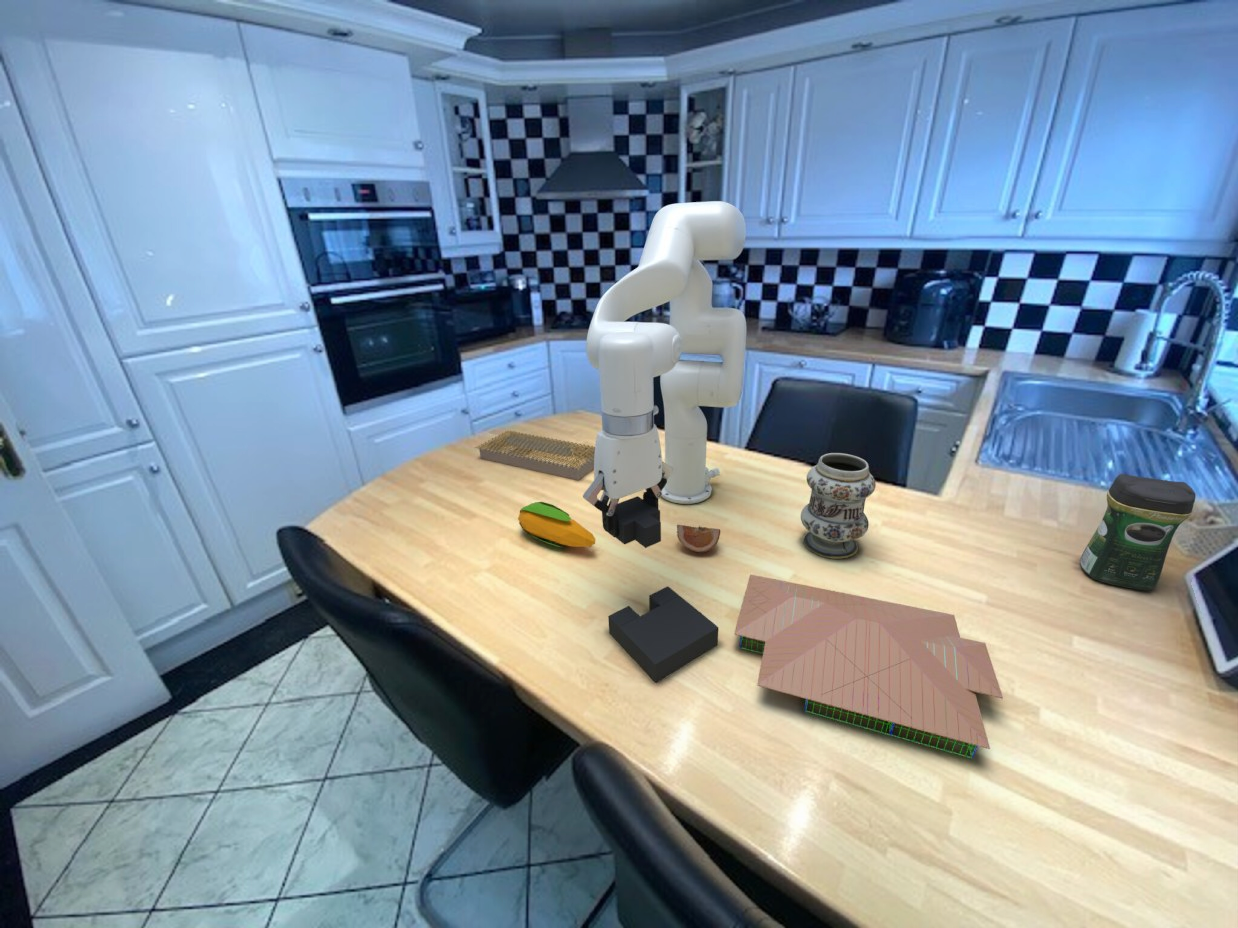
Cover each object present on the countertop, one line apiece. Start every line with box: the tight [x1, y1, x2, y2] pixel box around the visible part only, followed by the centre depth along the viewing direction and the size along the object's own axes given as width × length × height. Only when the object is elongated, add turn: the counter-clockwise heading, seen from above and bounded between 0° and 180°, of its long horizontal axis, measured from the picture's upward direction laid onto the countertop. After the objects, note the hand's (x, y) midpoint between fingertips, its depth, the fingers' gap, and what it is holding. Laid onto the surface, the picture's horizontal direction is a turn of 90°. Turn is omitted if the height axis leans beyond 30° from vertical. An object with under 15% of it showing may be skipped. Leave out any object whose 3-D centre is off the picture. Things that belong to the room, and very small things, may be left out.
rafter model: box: [474, 430, 595, 481], centre depth 140 cm, size 35×14×6 cm, turn 61°
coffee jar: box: [1079, 473, 1196, 591], centre depth 84 cm, size 10×8×19 cm
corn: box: [517, 501, 596, 549], centre depth 103 cm, size 7×8×20 cm
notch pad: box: [607, 585, 719, 683], centre depth 78 cm, size 12×12×4 cm
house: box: [733, 573, 1004, 759], centre depth 71 cm, size 23×33×8 cm
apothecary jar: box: [800, 452, 877, 560], centre depth 96 cm, size 12×12×18 cm
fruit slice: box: [676, 524, 721, 553], centre depth 99 cm, size 8×7×5 cm
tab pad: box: [614, 495, 662, 549], centre depth 79 cm, size 7×9×4 cm
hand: (631, 524), depth 81 cm, fingers closed on tab pad, 7 cm apart
